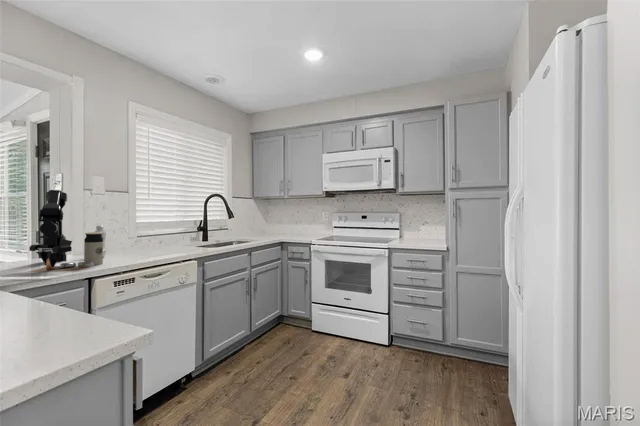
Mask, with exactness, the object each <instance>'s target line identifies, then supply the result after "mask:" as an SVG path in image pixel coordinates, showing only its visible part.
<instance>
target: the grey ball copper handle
mask: <svg viewBox="0 0 640 426" xmlns="http://www.w3.org/2000/svg"><path fill="white" fill-rule="evenodd" d="M57 266H58V267H51V265H50V261H49V258H46V265H45V267H46V270H54V269H59V268H70V267H76V266H77V263H76V262H71V261H70V262H63V263H60V265H57Z"/></svg>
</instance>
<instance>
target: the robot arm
mask: <svg viewBox="0 0 640 426" xmlns="http://www.w3.org/2000/svg"><path fill="white" fill-rule="evenodd" d="M45 201H46V202H47V203H45V204H44V205H42V208H40V210H39V217H38V222H42V224H40V226H39V232H40V233H41V234H42V235H40V236H39V238H40V239H42V243H40V244H37V243H36V244H31V245H30V246H29V248H28V249H29V250H28V251H29V252H35V251H36V254H37V255H38V256H39V257H40V259H41V260H42V262H43V263H44V265H45V266H46V258H49V261H50V265H51V267H54V266H56V264H57V263H59V262H60V263H61V262H63V263H64V262H67V254H66V253H69V252H72V250H73V247H72V243H73V241H72V240H68V239H67V237H66V236H65V235H64V233H63V219H64V211H63V208H64V207H65V205H66V203H67V202H68V194H67V193H66V192H64V191H62V190H60V189H59V190H58V189H48V191H46V192H45Z"/></svg>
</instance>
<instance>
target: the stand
mask: <svg viewBox="0 0 640 426" xmlns="http://www.w3.org/2000/svg"><path fill="white" fill-rule="evenodd" d="M58 266H59V265H55V266H54V267H58ZM92 267H95V265H94V262H84V261H79V262H77V265H76V267H70V268H59V269H54V270H46V266H44V267H41V268H36V269H33V270H29V271H27V273H28V272H30V273H31V272H39V273H41V272H43V273H44V272H79V271H82V270H86V269H89V268H92Z"/></svg>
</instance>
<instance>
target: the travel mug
mask: <svg viewBox="0 0 640 426" xmlns="http://www.w3.org/2000/svg"><path fill="white" fill-rule="evenodd" d="M83 241H84V247H83V250H84V251H83V253H84V255H83V262H94V266H101V265H103V263H104V261H103V260H104V257H103V238H102V232H95V231H94V232H85V238H84V240H83Z"/></svg>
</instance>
